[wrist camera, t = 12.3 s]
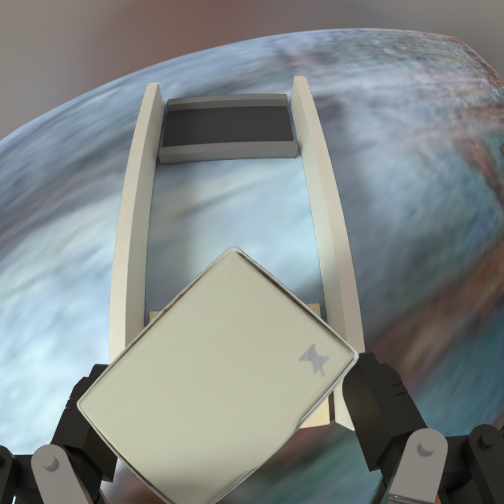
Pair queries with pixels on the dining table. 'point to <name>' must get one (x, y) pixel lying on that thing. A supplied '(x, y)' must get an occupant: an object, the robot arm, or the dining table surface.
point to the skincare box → (216, 382)
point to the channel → (323, 212)
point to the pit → (227, 128)
